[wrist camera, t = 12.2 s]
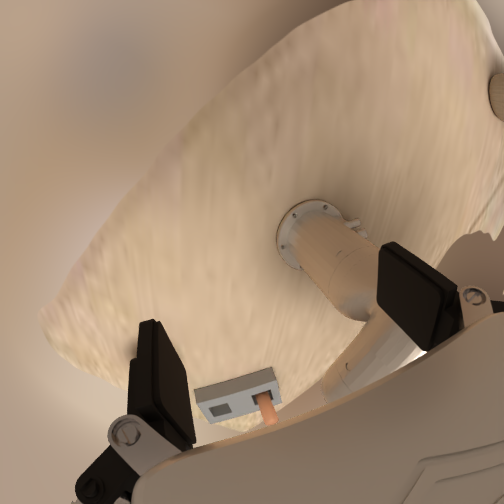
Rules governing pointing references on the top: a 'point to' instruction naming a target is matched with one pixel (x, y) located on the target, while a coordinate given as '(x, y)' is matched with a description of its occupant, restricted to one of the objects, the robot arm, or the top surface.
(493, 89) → the canister
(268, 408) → the peg
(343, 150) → the top surface
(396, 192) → the top surface
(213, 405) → the socket block
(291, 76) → the top surface
